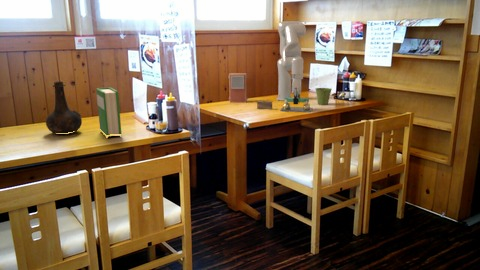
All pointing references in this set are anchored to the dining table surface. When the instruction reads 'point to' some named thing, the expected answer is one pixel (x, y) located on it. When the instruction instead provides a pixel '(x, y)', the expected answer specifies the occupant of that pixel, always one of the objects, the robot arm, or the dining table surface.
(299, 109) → the chassis
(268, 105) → the walnut stand
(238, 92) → the control panel
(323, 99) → the plant pot
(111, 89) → the hardback book
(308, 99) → the circuit board
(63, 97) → the glass bottle
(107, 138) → the dining table surface
